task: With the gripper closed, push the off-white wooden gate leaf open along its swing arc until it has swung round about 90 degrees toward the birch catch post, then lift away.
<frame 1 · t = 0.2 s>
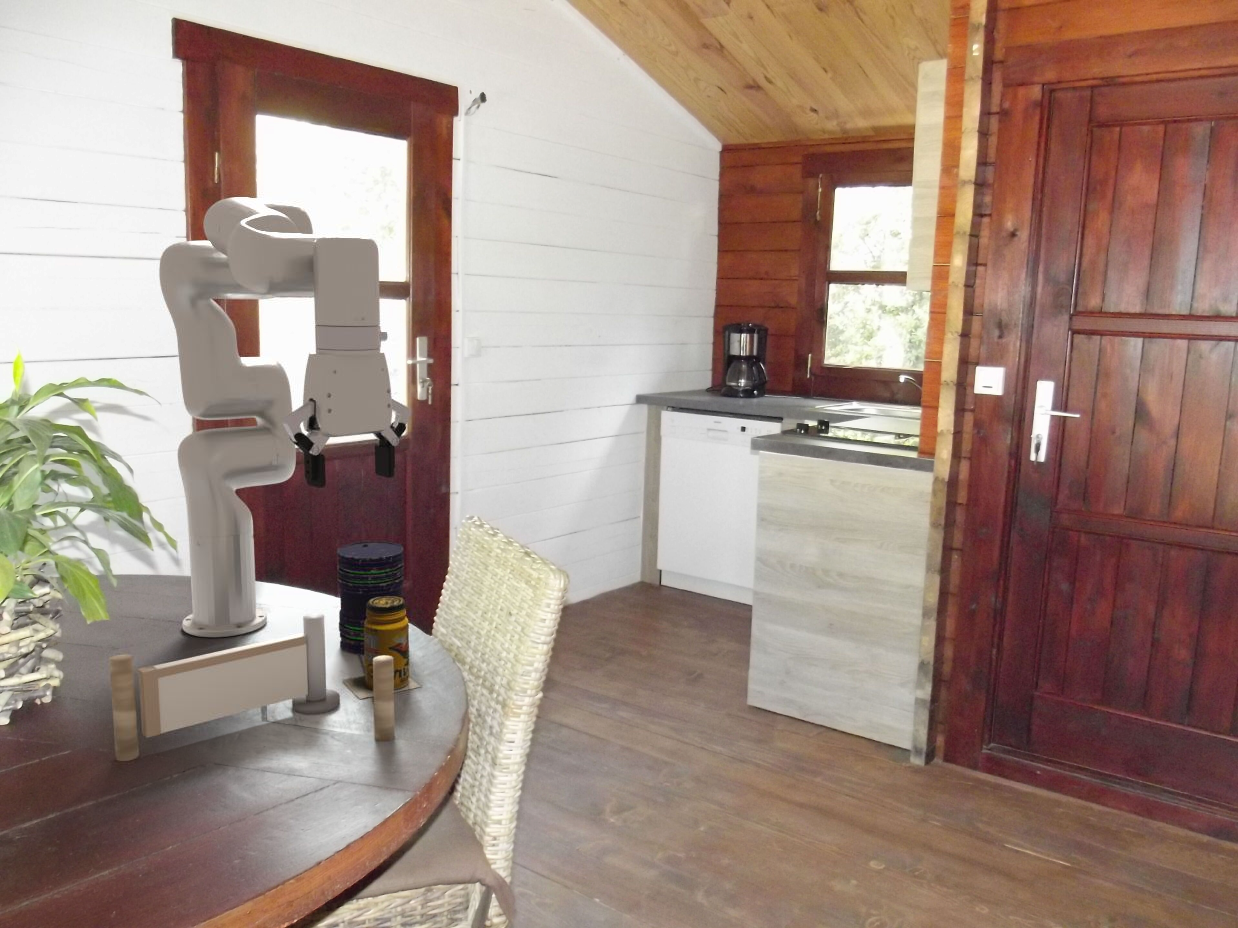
hand: (351, 481, 126), 31 cm above the table, fingers open, 9 cm apart
storage jar: (372, 645, 158), on the table
gate: (238, 675, 127), point 7 cm above the table, hinge at 0.0°
gate frame: (316, 704, 135), on the table
condiment: (380, 686, 142), on the table
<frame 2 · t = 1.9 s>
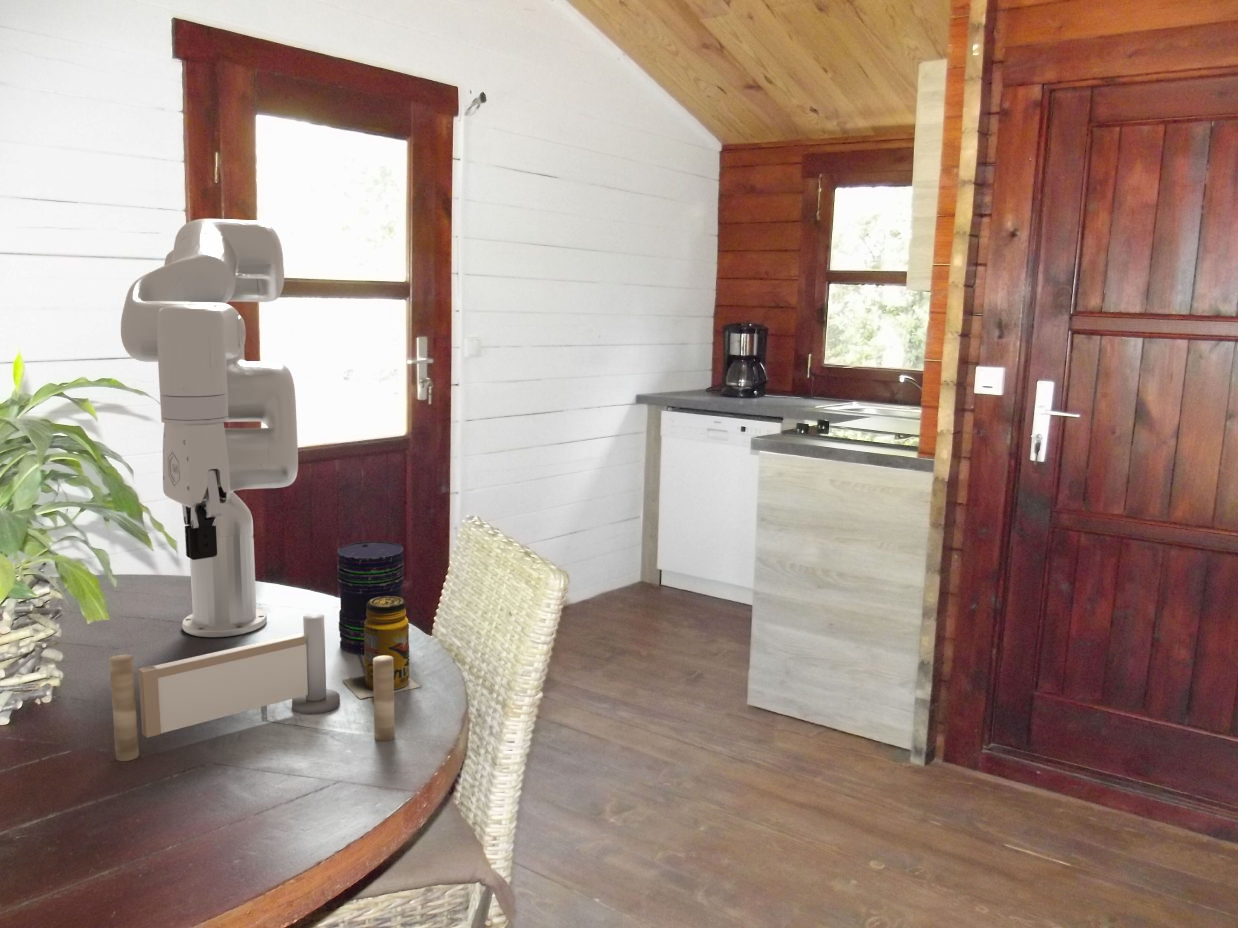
hand: (201, 556, 127), 21 cm above the table, fingers closed
nothing on the table moved.
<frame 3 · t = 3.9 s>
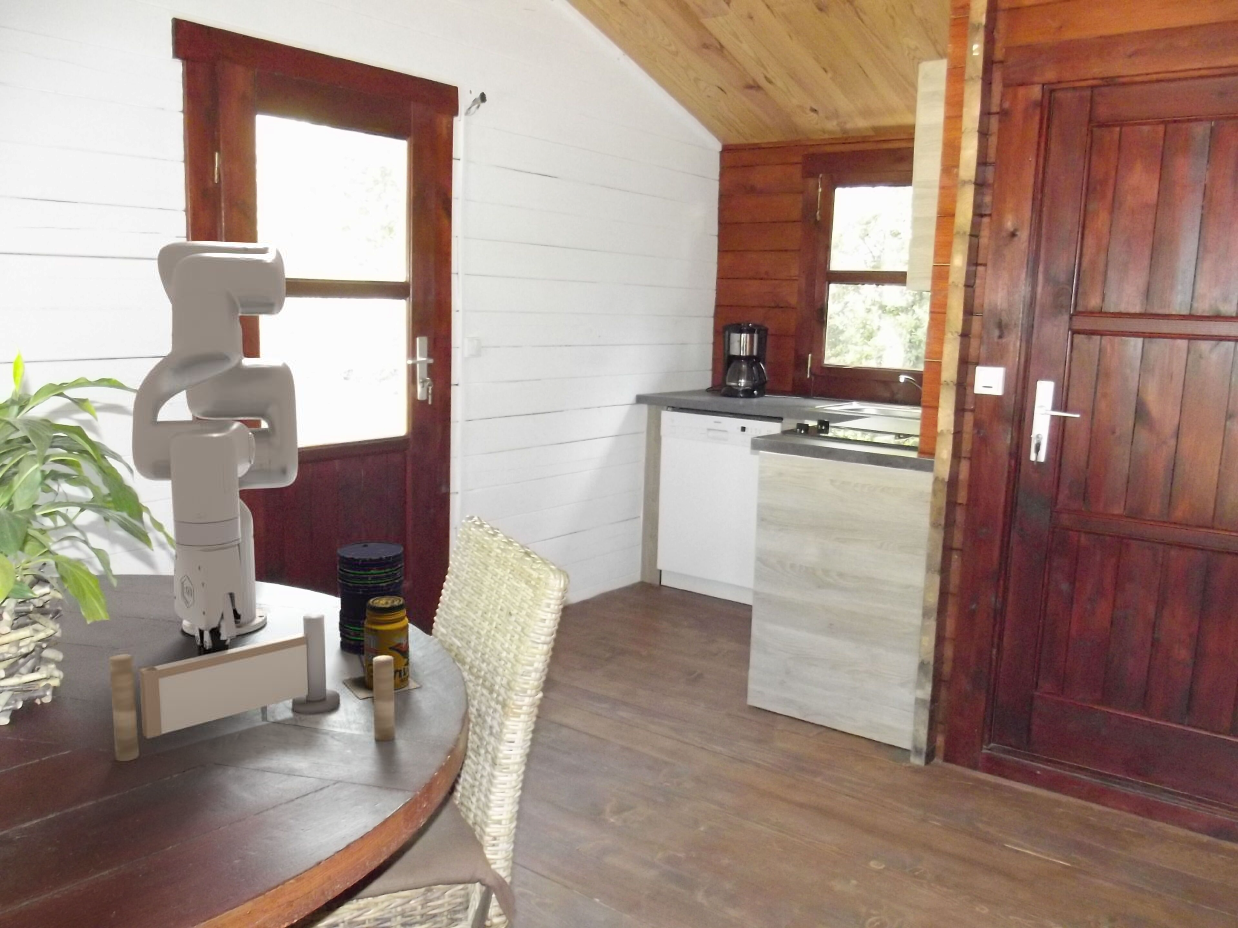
hand: (214, 674, 128), 6 cm above the table, fingers closed
gate: (239, 675, 127), point 7 cm above the table, hinge at 0.7°, touching gripper
everything else where it was.
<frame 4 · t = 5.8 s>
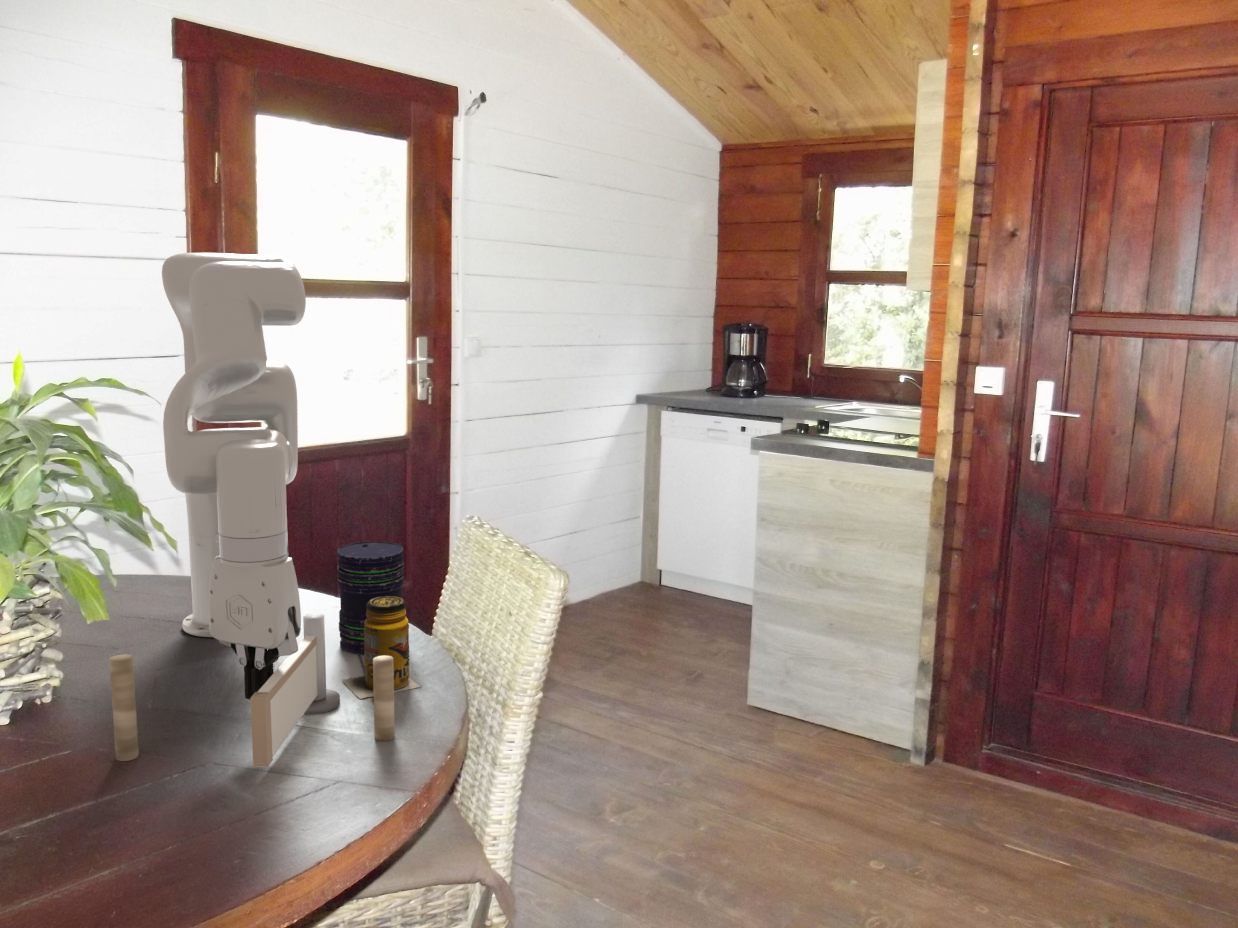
hand: (259, 695, 122), 6 cm above the table, fingers closed
gate: (291, 686, 124), point 7 cm above the table, hinge at 48.2°, touching gripper
everything else where it was.
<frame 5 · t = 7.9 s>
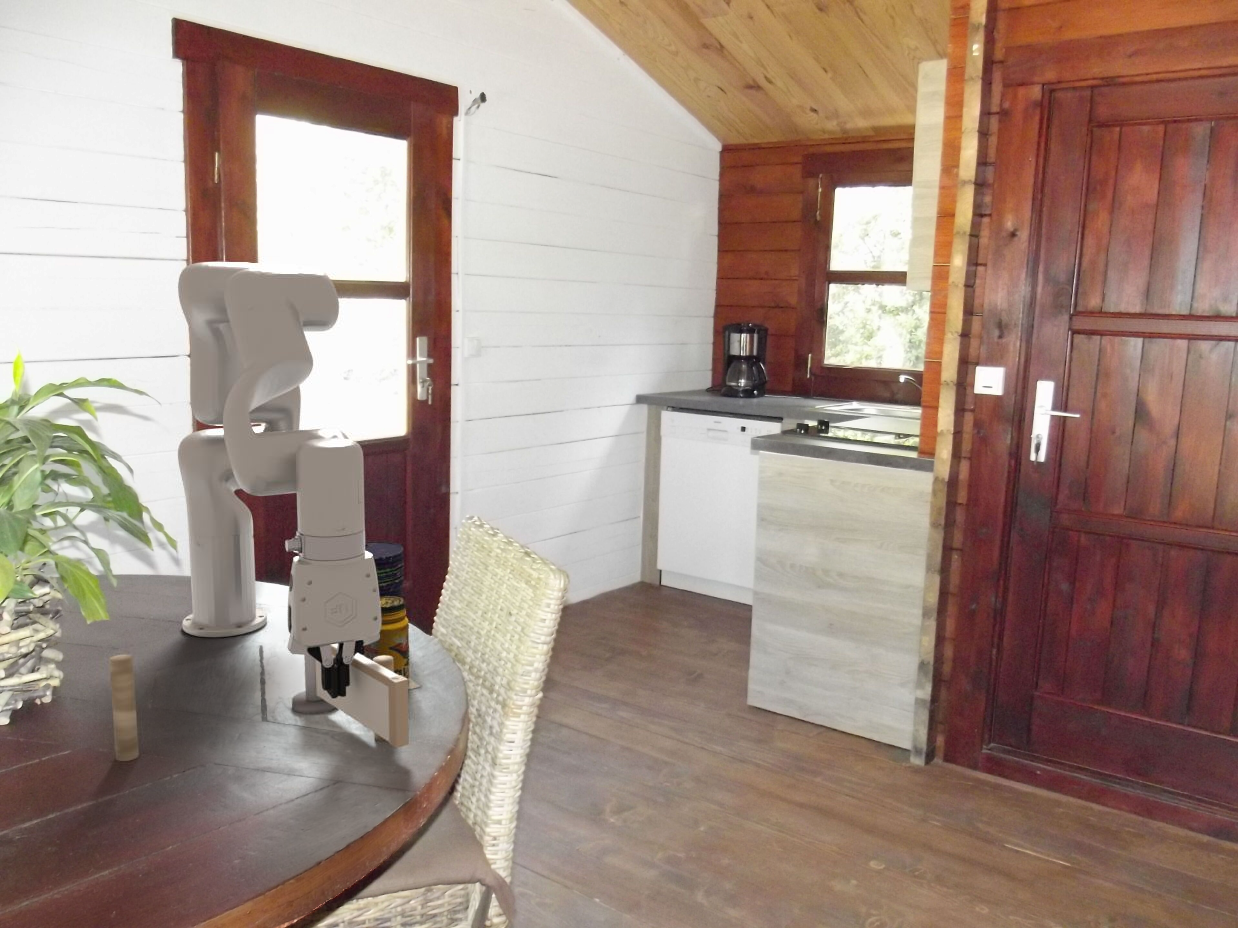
hand: (335, 693, 123), 6 cm above the table, fingers closed
gate: (353, 679, 126), point 7 cm above the table, hinge at 90.8°, touching gate frame, gripper
everything else where it was.
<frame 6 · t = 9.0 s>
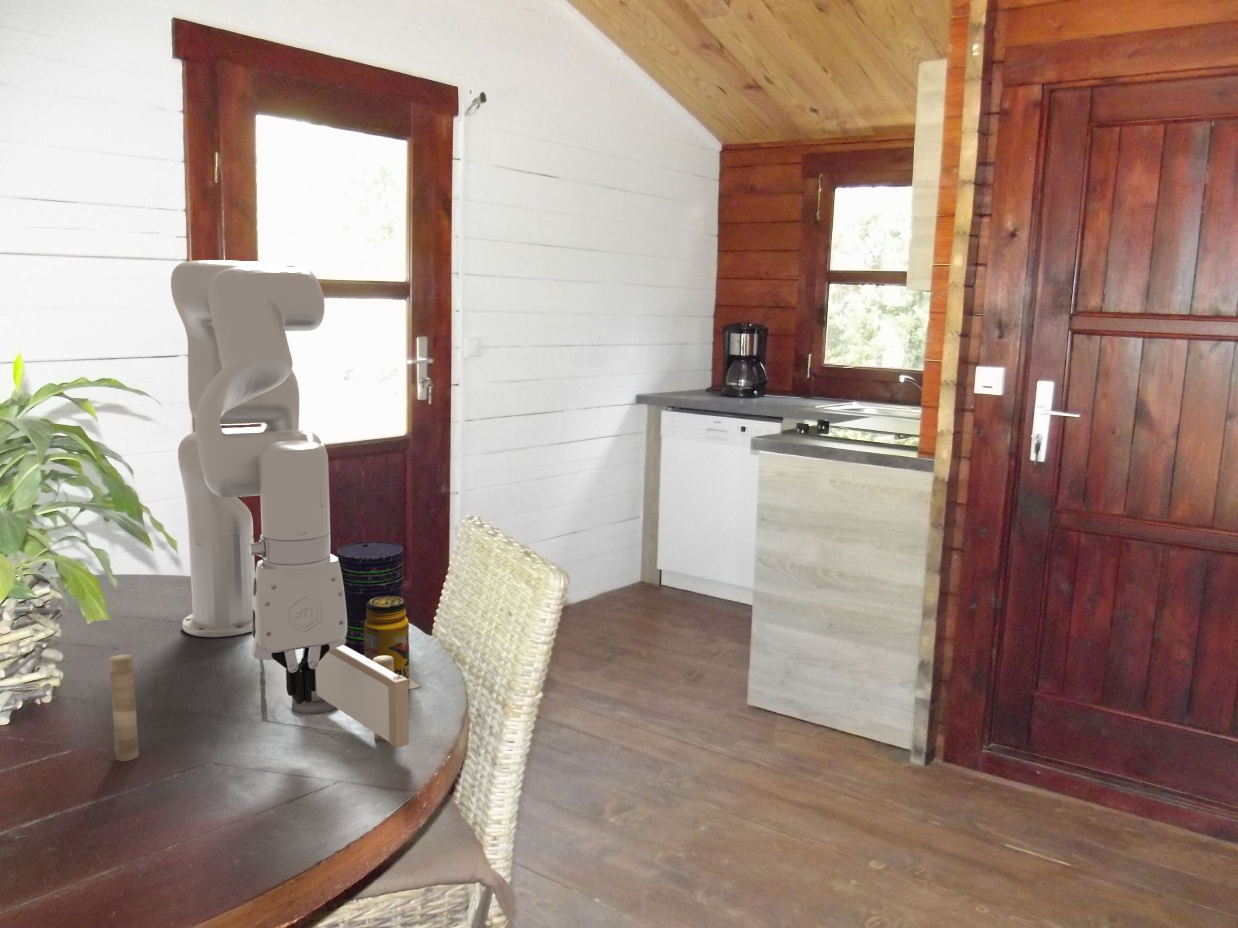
hand: (301, 698, 122), 6 cm above the table, fingers closed
gate: (353, 679, 126), point 7 cm above the table, hinge at 90.8°, touching gate frame
everything else where it was.
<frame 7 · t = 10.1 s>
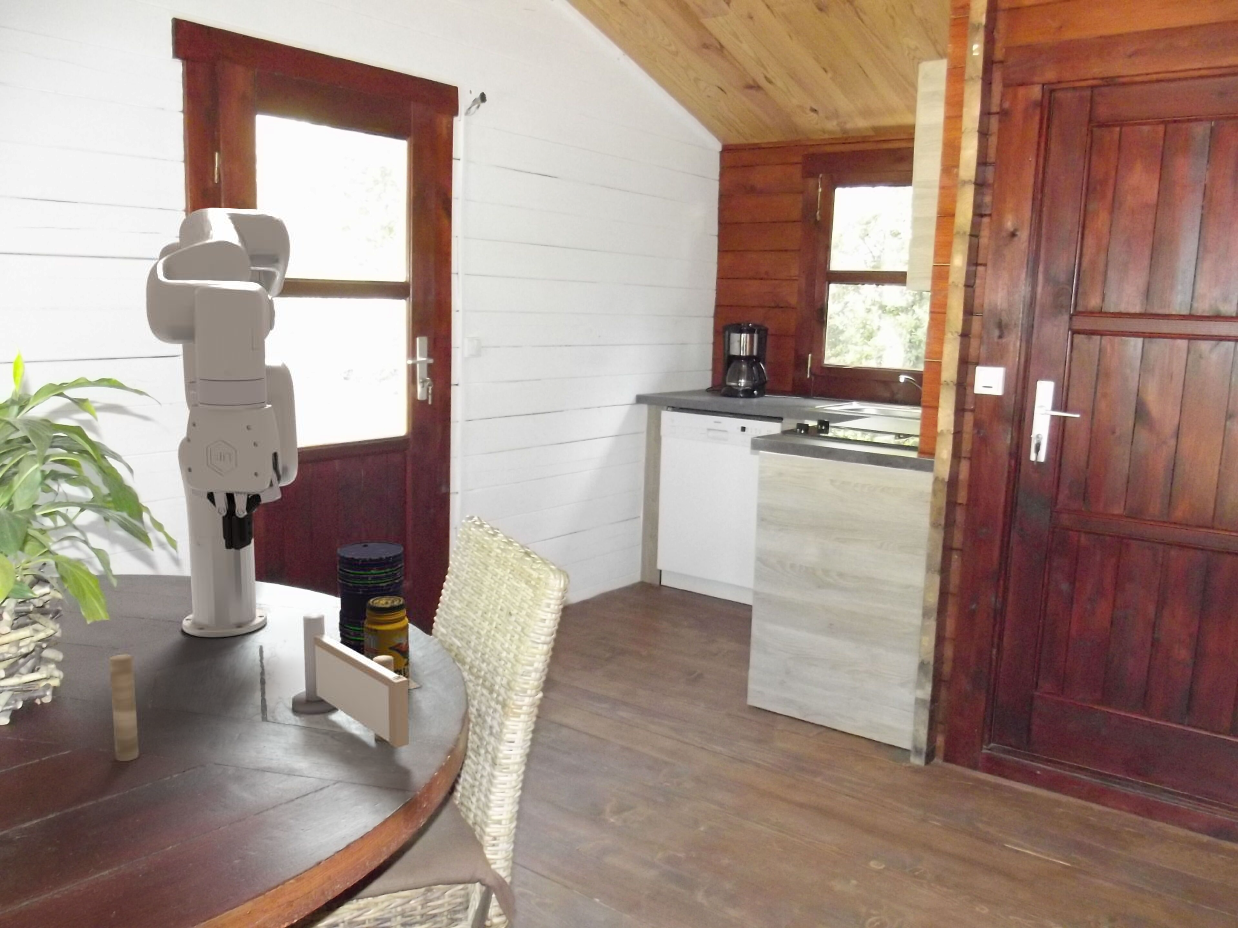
hand: (238, 546, 122), 24 cm above the table, fingers closed
nothing on the table moved.
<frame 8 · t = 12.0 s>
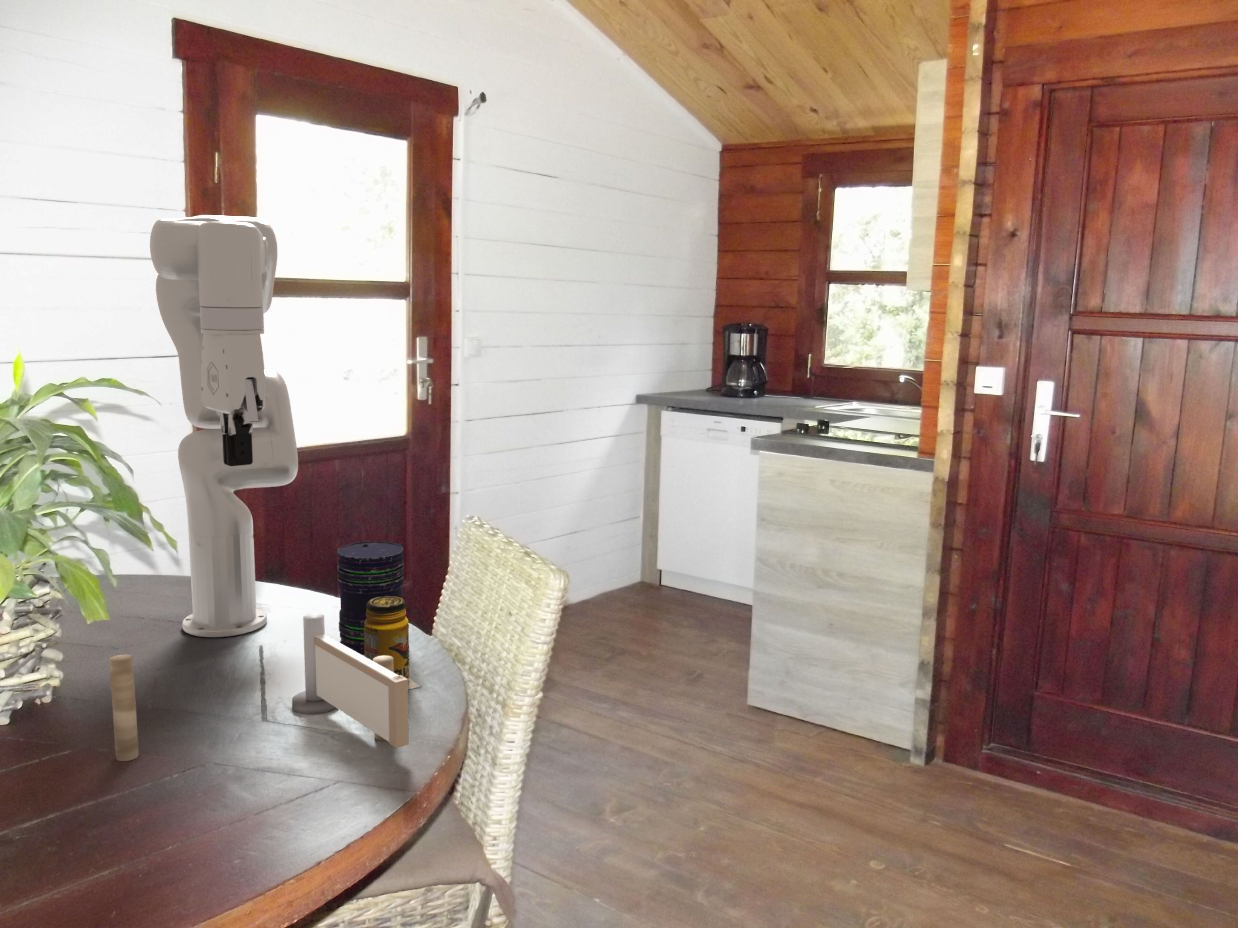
hand: (238, 464, 133), 31 cm above the table, fingers closed
nothing on the table moved.
at the end: gate at +91° (first picture: +0°); condiment moved 0.3 cm from its start; storage jar moved 0.2 cm from its start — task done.
